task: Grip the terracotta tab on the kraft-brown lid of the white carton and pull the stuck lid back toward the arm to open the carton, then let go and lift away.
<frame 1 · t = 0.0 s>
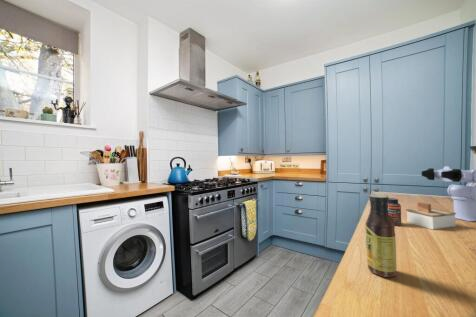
hand: (431, 174, 89), 22 cm above the countertop, tool horizontal, fingers open, 7 cm apart
supplement bottle: (393, 224, 88), on the countertop
sauce bottle: (381, 273, 51), on the countertop
lid: (429, 207, 86), point 7 cm above the countertop, slide at 0.0 cm
carton: (430, 224, 86), on the countertop
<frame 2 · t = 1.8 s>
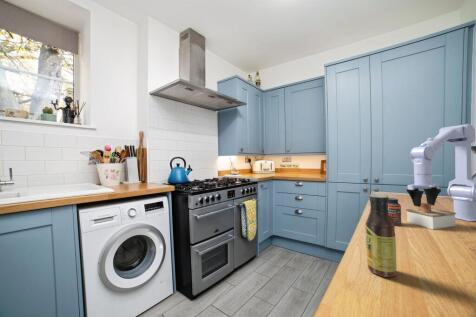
hand: (424, 205, 85), 8 cm above the countertop, tool pointing down, fingers open, 7 cm apart
nothing on the countertop moved.
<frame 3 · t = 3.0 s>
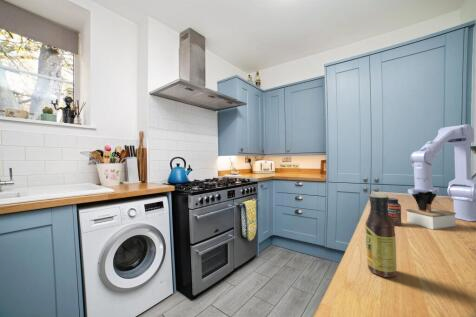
hand: (424, 209, 85), 7 cm above the countertop, tool pointing down, fingers closed on lid, 2 cm apart
lid: (429, 207, 86), point 7 cm above the countertop, slide at 0.0 cm, touching gripper
everything else where it was.
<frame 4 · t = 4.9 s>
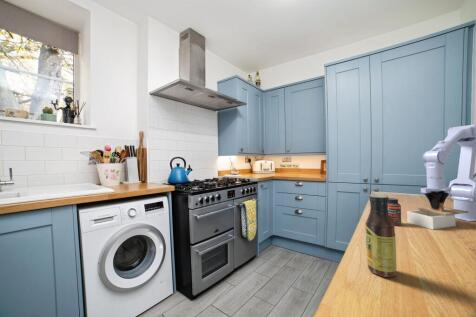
hand: (436, 208, 87), 7 cm above the countertop, tool pointing down, fingers closed on lid, 2 cm apart
lid: (442, 206, 87), point 7 cm above the countertop, slide at 7.0 cm, touching gripper
everything else where it was.
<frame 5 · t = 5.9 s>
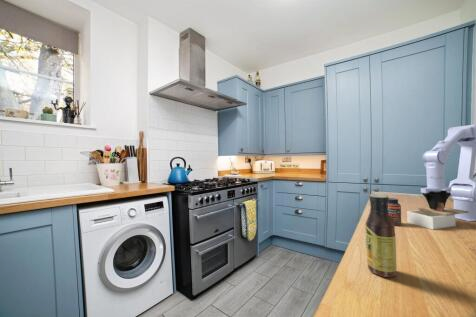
hand: (436, 208, 87), 7 cm above the countertop, tool pointing down, fingers open, 4 cm apart
lid: (442, 206, 87), point 7 cm above the countertop, slide at 7.0 cm
everything else where it was.
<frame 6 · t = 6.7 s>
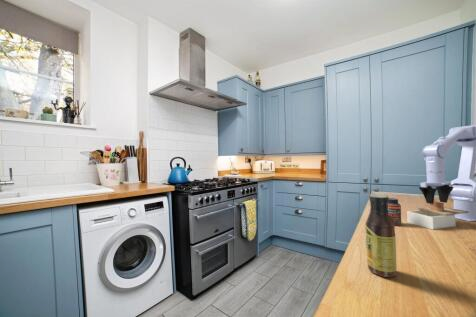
hand: (436, 202, 87), 9 cm above the countertop, tool pointing down, fingers open, 7 cm apart
nothing on the countertop moved.
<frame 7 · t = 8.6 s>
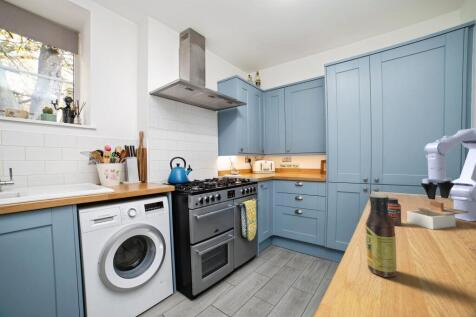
hand: (438, 198, 90), 10 cm above the countertop, tool pointing down, fingers open, 7 cm apart
nothing on the countertop moved.
at the end: lid slide at 7.0 cm; the gripper is holding nothing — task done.
